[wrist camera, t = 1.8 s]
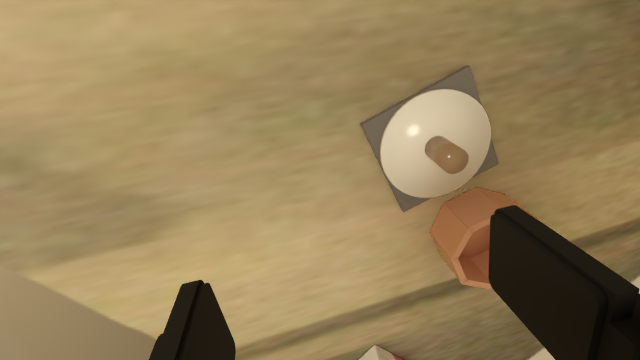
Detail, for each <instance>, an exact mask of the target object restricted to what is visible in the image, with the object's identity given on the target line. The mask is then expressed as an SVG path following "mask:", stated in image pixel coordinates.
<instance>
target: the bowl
mask: <svg viewBox="0 0 640 360" xmlns="http://www.w3.org/2000/svg"><path fill="white" fill-rule="evenodd" d="M511 205H516V206H518V207H519V208H521V209H522V210H524V211H525V212H527V213H528V214H530V213H529V212H528V211H526V210H525V209H524V208H522V207H521V206H519V205H518V204H517V203H515V202H514V201H512V200H511V199H510V198H508V197H507V196H506V195H504V194H500V193H496V192H493V191H489V190H485V189H481V188H477V187H475V188H473V189H471V190H469V191H467V192H465V193H463V194H461V195H459V196H457V197H455V198H453V199H451V200H449V201H447V202H445V203H444V204H443V206H442V208H441V210H440V212H439V214H438V216H437V218H436V220H435V222H434V224H433V226H432V228H431V230H430V233H431V236H432V238H433V240H434V242H435V244H436V247H437V249H438V251H439V253H440V255H441V256H442V258H443V259H444V261H445V262H446V263H447V265H448V266H449V267H450V269H451V270H452V271H453V273H454V274H455V276H456V277H457V278H458V280H459V281H460V282H461V284H463V285H469V286H475V287H481V288H486V289H493V288H492V287H491V285H490V282H489V278H488V275H489V243H490V218H491V215H493V214H494V212H495V210H496V209H499V208H503V207H507V206H511ZM530 215H531V216H533V215H532V214H530ZM533 217H534V218H536V217H535V216H533ZM536 219H537V218H536Z"/></svg>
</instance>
